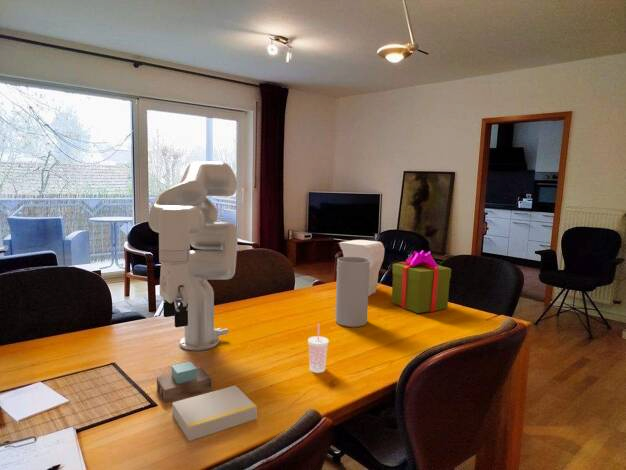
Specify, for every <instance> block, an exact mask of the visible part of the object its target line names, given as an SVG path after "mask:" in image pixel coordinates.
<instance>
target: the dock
mask: <svg viewBox="0 0 626 470" xmlns="http://www.w3.org/2000/svg"><path fill="white" fill-rule="evenodd" d="M171 408H172V409H171V410H172V411H171V412H172V413H171V414H172V416H173V418H174V420H175V421H176V423H177V424H178V426H179V427H180V430H181V431H182V432H183V434H184V435H185V437H186V439H187V440H188V442H191V441H194V440H197V439H199V438H203V437H206V436H209V435H211V434H215V433H219V432H221V431H224V430H228V429H230V428H233V427H236V426H238V425H243V424H246V423H249V422H251V421H255V420H257V419H258V407H257V405H256V404H255V403H254V402H253V401H252V400H251V399H250V398H249V397H248V396H247V395H246V394H245V393H244V392H243V391H242V390H241V389H240V388H239V387H238V386H237V385H231V386H229V387H225V388H221V389H217V390H213V391H208V392H205V393H201V394H197V395H194V396H190V397H188V398H187V397H186V398H183V399H181V400H180V399H179V400H177V401H176V400H175V401H172V403H171Z"/></svg>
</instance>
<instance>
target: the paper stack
mask: <svg viewBox="0 0 626 470" xmlns="http://www.w3.org/2000/svg"><path fill="white" fill-rule="evenodd" d="M337 244H338V245H339V247H340V250H342V255H343V257H361V258H366V259H369V260H370V269H369V290H368V297H369V296H371V295H372V294H376V292H377V288H378V281H379V271H380V269H381V268H382V264H383V262H384V259H385V258H384V257H385V250H386V249H385V246H384V244H383V243H382V241H377V240H368V239H367V240H366V239H352V240H346V241H340V242H338V243H337Z"/></svg>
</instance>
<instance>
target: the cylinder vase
mask: <svg viewBox="0 0 626 470" xmlns="http://www.w3.org/2000/svg"><path fill="white" fill-rule="evenodd" d="M369 269H370V260H369V259H366V258H361V257H344V256H341V257H338V258H337V261H336V285H335V289H336V291H335V317H334V319H335V322H336V324H338V325H340V326H343V327H348V328H349V327H350V328H359V327H362V326H363V327H364V326H365V325H366V324H367V322H368V312H369V311H368V310H369V309H368V308H369V307H368V305H369V296H368V290H369Z"/></svg>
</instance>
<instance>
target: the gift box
mask: <svg viewBox="0 0 626 470" xmlns="http://www.w3.org/2000/svg"><path fill="white" fill-rule="evenodd" d="M431 253H432V252H431V251H428V252H425V250H424V249H423V250H421V251H420V252H419V251H416V250H414V251H413V253H411V255H410V256H408V258H406V260H405V262H404V261H399V262H397V263H392V271H391V272H392V289H391V290H392V291H391V303H393V304H395V305H398V306H400V307H401V308H402V309H405V310H409V311H411V312H414V313H416V314H420V313H426V312H429V313H431V312H433V313H434V312H435V311H439V310H445V309H448V306H449V294H450V293H449V291H450V280H451V277H452V268H450V267H447V266H443V265H439V264H438V263H436V261H435V259H434V258H433V256H432V255H431Z"/></svg>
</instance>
